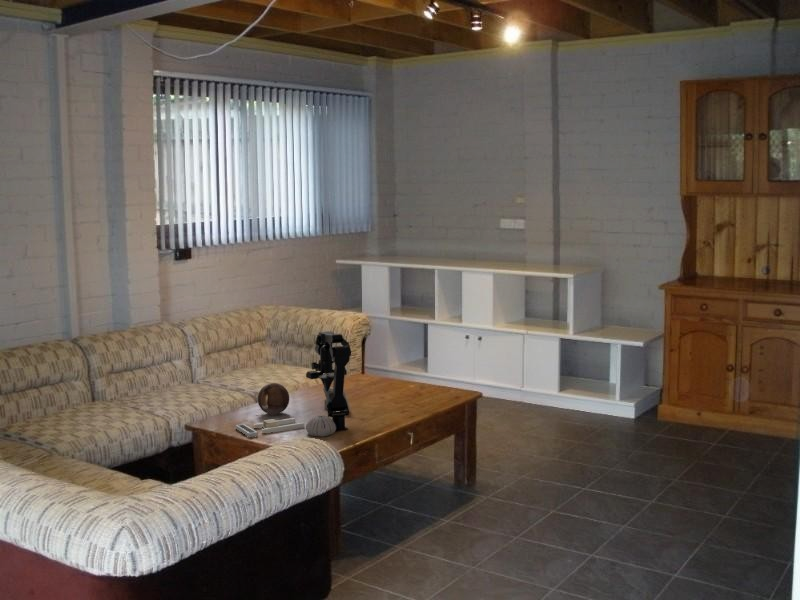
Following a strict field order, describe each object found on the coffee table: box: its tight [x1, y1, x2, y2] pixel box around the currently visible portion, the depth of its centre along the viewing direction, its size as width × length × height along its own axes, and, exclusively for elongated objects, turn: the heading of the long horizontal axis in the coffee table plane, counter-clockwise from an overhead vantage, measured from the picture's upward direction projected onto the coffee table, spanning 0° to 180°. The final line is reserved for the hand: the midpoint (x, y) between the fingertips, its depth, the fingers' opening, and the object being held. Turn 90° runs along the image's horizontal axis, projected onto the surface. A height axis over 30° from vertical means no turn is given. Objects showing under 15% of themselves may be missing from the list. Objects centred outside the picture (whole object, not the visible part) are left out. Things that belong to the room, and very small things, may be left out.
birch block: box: [262, 418, 279, 429], centre depth 404 cm, size 5×5×4 cm
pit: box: [235, 423, 259, 438], centre depth 399 cm, size 16×4×2 cm, turn 31°
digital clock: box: [323, 386, 351, 412], centre depth 439 cm, size 16×9×11 cm, turn 28°
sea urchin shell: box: [305, 415, 337, 438], centre depth 397 cm, size 13×14×8 cm
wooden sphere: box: [257, 382, 290, 416], centre depth 430 cm, size 15×15×15 cm
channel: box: [252, 417, 305, 434], centre depth 407 cm, size 11×20×2 cm, turn 121°
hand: (326, 391), depth 421 cm, fingers closed
